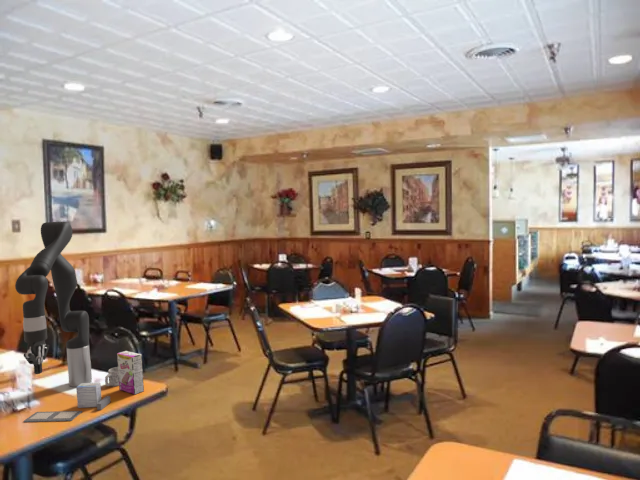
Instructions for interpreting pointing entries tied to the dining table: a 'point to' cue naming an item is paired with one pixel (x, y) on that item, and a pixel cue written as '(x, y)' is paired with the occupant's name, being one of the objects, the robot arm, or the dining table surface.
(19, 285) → the robot arm
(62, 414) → the plate
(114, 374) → the mug
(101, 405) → the rubber stop
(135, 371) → the candy bar box
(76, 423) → the dining table surface
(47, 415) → the plate
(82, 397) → the grey upright block
